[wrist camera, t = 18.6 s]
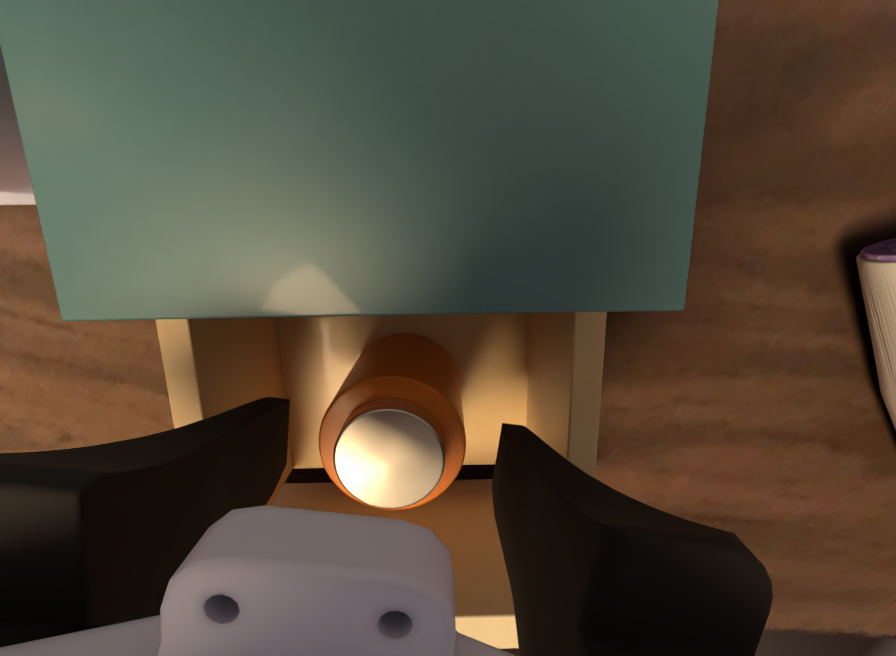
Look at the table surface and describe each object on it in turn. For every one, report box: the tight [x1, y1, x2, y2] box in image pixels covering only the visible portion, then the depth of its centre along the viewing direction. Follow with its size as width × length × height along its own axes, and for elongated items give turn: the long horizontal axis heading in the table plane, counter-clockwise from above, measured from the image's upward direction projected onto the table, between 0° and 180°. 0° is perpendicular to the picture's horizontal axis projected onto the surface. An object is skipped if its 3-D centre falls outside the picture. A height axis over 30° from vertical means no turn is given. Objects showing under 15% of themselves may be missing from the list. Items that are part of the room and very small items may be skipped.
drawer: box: [156, 312, 607, 649], centre depth 16 cm, size 17×12×7 cm
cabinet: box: [0, 0, 719, 321], centre depth 12 cm, size 14×14×9 cm
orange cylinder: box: [319, 333, 466, 510], centre depth 15 cm, size 4×4×6 cm
